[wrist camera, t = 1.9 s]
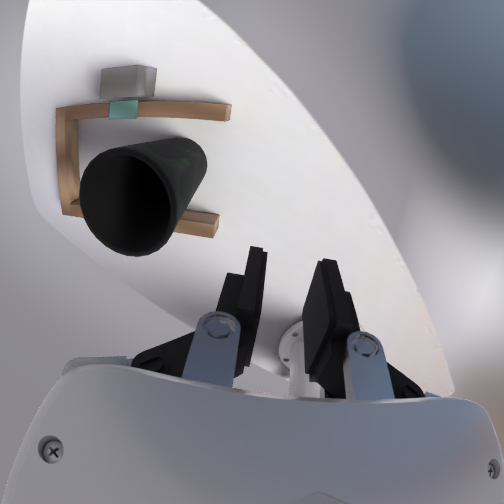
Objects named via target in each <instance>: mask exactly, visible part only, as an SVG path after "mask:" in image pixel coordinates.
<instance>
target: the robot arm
mask: <svg viewBox="0 0 504 504" xmlns="http://www.w3.org/2000/svg"><path fill="white" fill-rule="evenodd" d="M266 262H267V252H263V248H259V247H254V246H250V251H249V256H248V260H247V265H246V270H245V274H244V275H239V274H233V273H227V275H226V278H225V282H224V285H223V288H222V292H221V295H220V298H219V301H218V305H217V308H216V311H215V312H209V313H207V314H205V315H203V316H202V317H201V318H200V320H199V321H198V324H197V327H196V330H195V331H194V332H192V333H189V334H187V335H184V336H182V337H179V338H177V339H174V340H172V341H169V342H167V343H164V344H162V345H159V346H156V347H154V348H151V349H149V350H146V351H143V352H141V353H140V354H138V355H137V356H136V357H135V358H134V359H127V358H126V356H117V357H79V358H74V359H72V360H70V361H68V362H67V364H66V365H65V366H64V369H63V374H62V377H61V378H60V379H59V380H58V381H57V382H56V383H55V385H54V386H53V387H52V389H51V390H50V392H49V393H48V395H47V396H46V398H45V399H44V401H43V402H42V404H41V406H40V408H39V410H38V411H37V413H36V415H35V417H34V419H33V420H32V422H31V424H30V427H29V429H28V431H27V433H26V435H25V438H24V440H23V442H22V445H21V447H20V449H19V452H18V454H17V457H16V459H15V462H14V464H13V467H12V470H11V473H10V476H9V479H8V482H7V486H6V489H5V493H4V496H3V501H2V504H504V460H503V456H502V452H501V448H500V444H499V441H498V437H497V435H496V432H495V429H494V426H493V424H492V422H491V419H490V417H489V415H488V413H487V412H486V410H485V409H484V408H483V407H482V406H480V405H479V404H477V403H475V402H472V401H469V400H466V399H461V398H455V397H440V396H437V395H434V394H432V393H429V392H425V393H424V394H423V391H422V390H421V388H420V387H419V386H418V385H417V384H416V383H414V382H413V381H412V380H410V379H409V378H408V377H406V376H405V375H404V374H402V373H401V372H400V371H398V370H397V369H396V368H394V367H393V366H392V365H390V364H389V363H388V362H386V358H385V354H384V350H383V346H382V344H381V342H380V341H379V340H378V339H377V338H376V337H375V336H374V335H372V334H370V333H368V332H365V331H364V329H363V328H362V326H361V325H360V324H359V323H358V319H357V315H356V311H355V308H354V304H353V300H352V297H351V294H350V292H347V291H345V290H344V286H343V282H342V279H341V275H340V272H339V268H338V265H337V261H336V260H330V259H325V258H324V259H323V260H322V261H318V263H317V266H316V269H315V272H314V276H313V279H312V282H311V285H310V289H309V292H308V295H307V298H306V301H305V304H304V307H303V312H302V319H303V320H302V321H300V322H298V323H296V324H295V325H293V326H292V327H290V328H289V329H288V330H287V331H286V332H285V333H284V335H283V336H282V338H281V340H280V343H279V356H280V359H281V361H282V363H283V364H284V365H285V366H286V367H287V368H289V369H290V379H289V395H281V394H272V393H264V392H256V391H249V390H242V389H236V388H232V387H233V379H234V378H235V377H237V376H239V375H241V374H242V373H243V370H244V366H247V367H249V365H250V361H251V356H252V352H253V347H254V343H255V338H256V334H257V329H258V325H259V320H260V315H261V308H262V300H263V291H264V281H265V272H266Z"/></svg>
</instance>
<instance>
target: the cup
mask: <svg viewBox="0 0 504 504" xmlns="http://www.w3.org/2000/svg"><path fill="white" fill-rule="evenodd" d="M206 170H207V159H206V156H205V153H204V151H203V150H202V148H201V147H200V146H199V145H198V144H197V143H196V142H194V141H192V140H190V139H187V138H172V139H165V140H158V141H152V142H146V143H140V144H134V145H128V146H123V147H118V148H113V149H109V150H107V151H105V152H102V153H100V154H99V155H97V156H96V157H95V158H94V159H93V160H91V162H90V163H89V164H88V166H87V167H86V169H85V170H84V173H83V176H82V179H81V181H80V189H79V199H80V207H81V210H82V214H83V217H84V219H85V221H86V223H87V225H88V227H89V229H90V230H91V232H92V233H93V234H94V235H95V237H96V238H97V239H98V240H99V241H100V242H102V243H103V244H104V245H105V246H106V247H108V248H110V249H111V250H113V251H115V252H117V253H120V254H123V255H126V256H135V257H139V256H145V255H149V254H152V253H154V252H156V251H158V250H159V249H160V248H161V247H163V246H164V245H165V244H166V243H167V241H168V240H169V238H170V237H171V235H172V233H173V232H174V230H175V228H176V226H177V224H178V222H179V220H180V218H181V217H182V215H183V213H184V211H185V209H186V208H187V206H188V204H189V202H190V200H191V199H192V197H193V195H194V193H195V192H196V190H197V188H198V186H199V185H200V183H201V181H202V180H203V178H204V176H205V173H206Z"/></svg>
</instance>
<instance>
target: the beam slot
mask: <svg viewBox="0 0 504 504" xmlns="http://www.w3.org/2000/svg"><path fill="white" fill-rule="evenodd" d="M156 72H157V68H152V67H147V66H141V65H133V66H123V67H114V68H106V69H102V75H101V86H100V99H105V98H119V97H142V96H154V90H155V81H156ZM231 106H232V105H228V104H217V103H203V102H184V101H138V100H127V101H110V102H108V103H95V104H84V105H75V106H68V107H62V108H56V153H57V169H58V181H59V191H60V199H61V207H62V214H63V215H69V216H75V217H82V218H84V217H83V214H82V210H81V207H80V199H79V189H80V177H79V158H78V119H87V118H106V117H109V119H136V118H137V117H170V118H189V119H203V120H215V121H228V120H230V114H231ZM218 223H219V215H216V214H209V213H203V212H196V211H189V210H185V211H184V213H183V215H182V217H181V218H180V220H179V222H178V224H177V226H176V228H175V230H174V232H177V233H183V234H189V235H196V236H202V237H208V238H213V237H214V235H215V233H216V231H217V229H218Z"/></svg>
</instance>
